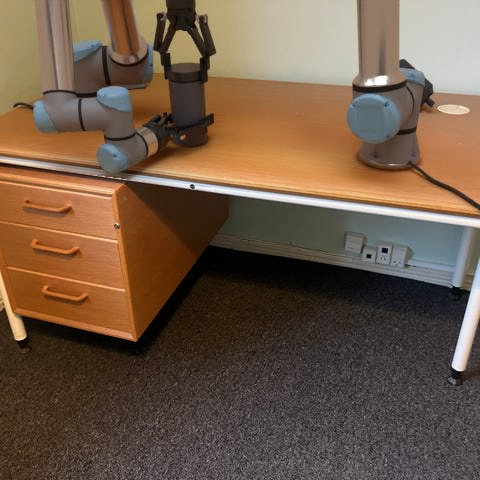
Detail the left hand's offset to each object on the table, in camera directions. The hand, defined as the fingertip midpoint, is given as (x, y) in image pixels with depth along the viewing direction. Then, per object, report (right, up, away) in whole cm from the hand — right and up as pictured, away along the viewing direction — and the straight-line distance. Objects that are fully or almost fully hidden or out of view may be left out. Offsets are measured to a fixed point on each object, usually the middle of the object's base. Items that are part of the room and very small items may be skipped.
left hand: (197, 115), depth 153 cm
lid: (-3, +10, -11) cm, 15 cm away
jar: (-2, -7, 0) cm, 8 cm away
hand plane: (-38, +20, +45) cm, 63 cm away
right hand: (-2, +7, -9) cm, 12 cm away
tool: (+65, +8, +21) cm, 69 cm away
